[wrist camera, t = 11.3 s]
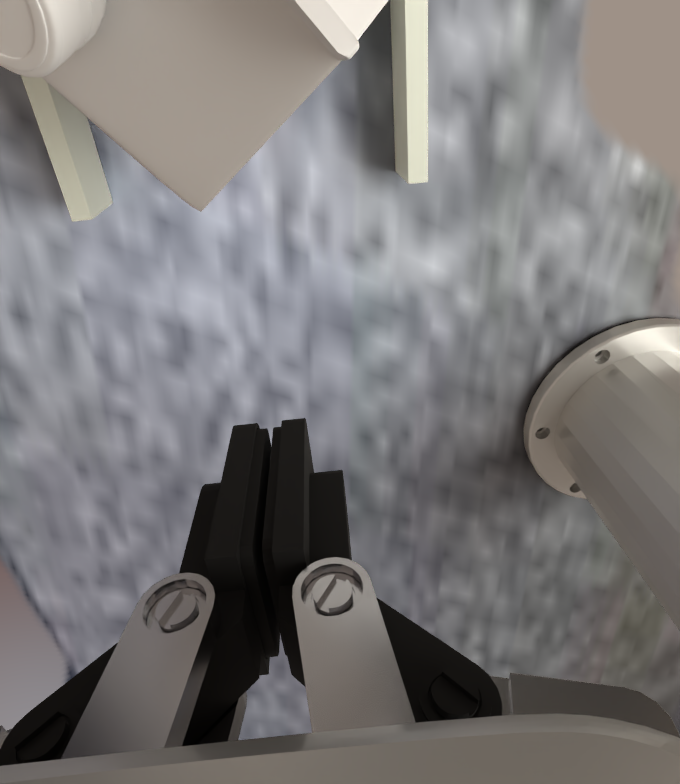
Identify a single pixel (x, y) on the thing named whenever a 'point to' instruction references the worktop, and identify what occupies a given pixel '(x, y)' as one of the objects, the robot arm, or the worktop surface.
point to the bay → (83, 166)
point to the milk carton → (184, 72)
